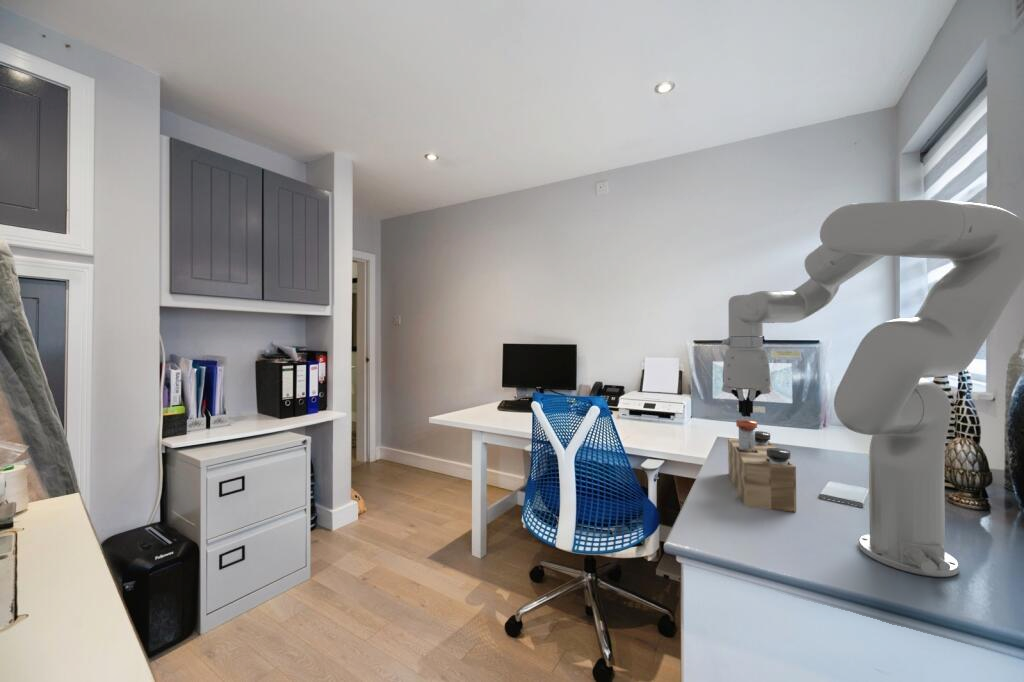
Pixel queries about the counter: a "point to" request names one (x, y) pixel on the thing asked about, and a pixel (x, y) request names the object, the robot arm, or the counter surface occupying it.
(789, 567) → the counter surface
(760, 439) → the plug far
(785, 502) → the socket block
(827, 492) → the hard drive
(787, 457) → the plug near
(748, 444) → the plug mid
